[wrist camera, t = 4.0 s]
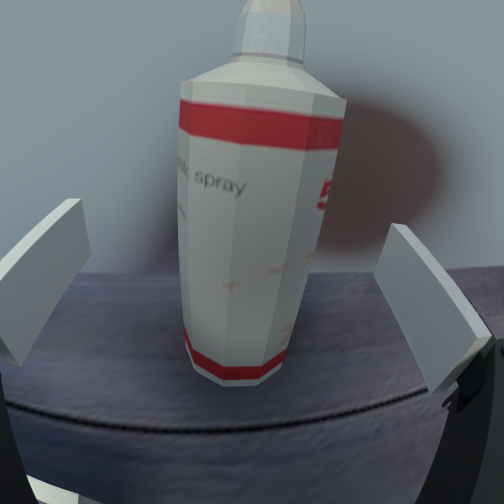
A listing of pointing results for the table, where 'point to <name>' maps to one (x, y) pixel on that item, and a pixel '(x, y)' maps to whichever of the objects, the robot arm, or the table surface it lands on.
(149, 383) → the table surface
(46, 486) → the bottle bracket
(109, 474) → the table surface
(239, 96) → the spray bottle
